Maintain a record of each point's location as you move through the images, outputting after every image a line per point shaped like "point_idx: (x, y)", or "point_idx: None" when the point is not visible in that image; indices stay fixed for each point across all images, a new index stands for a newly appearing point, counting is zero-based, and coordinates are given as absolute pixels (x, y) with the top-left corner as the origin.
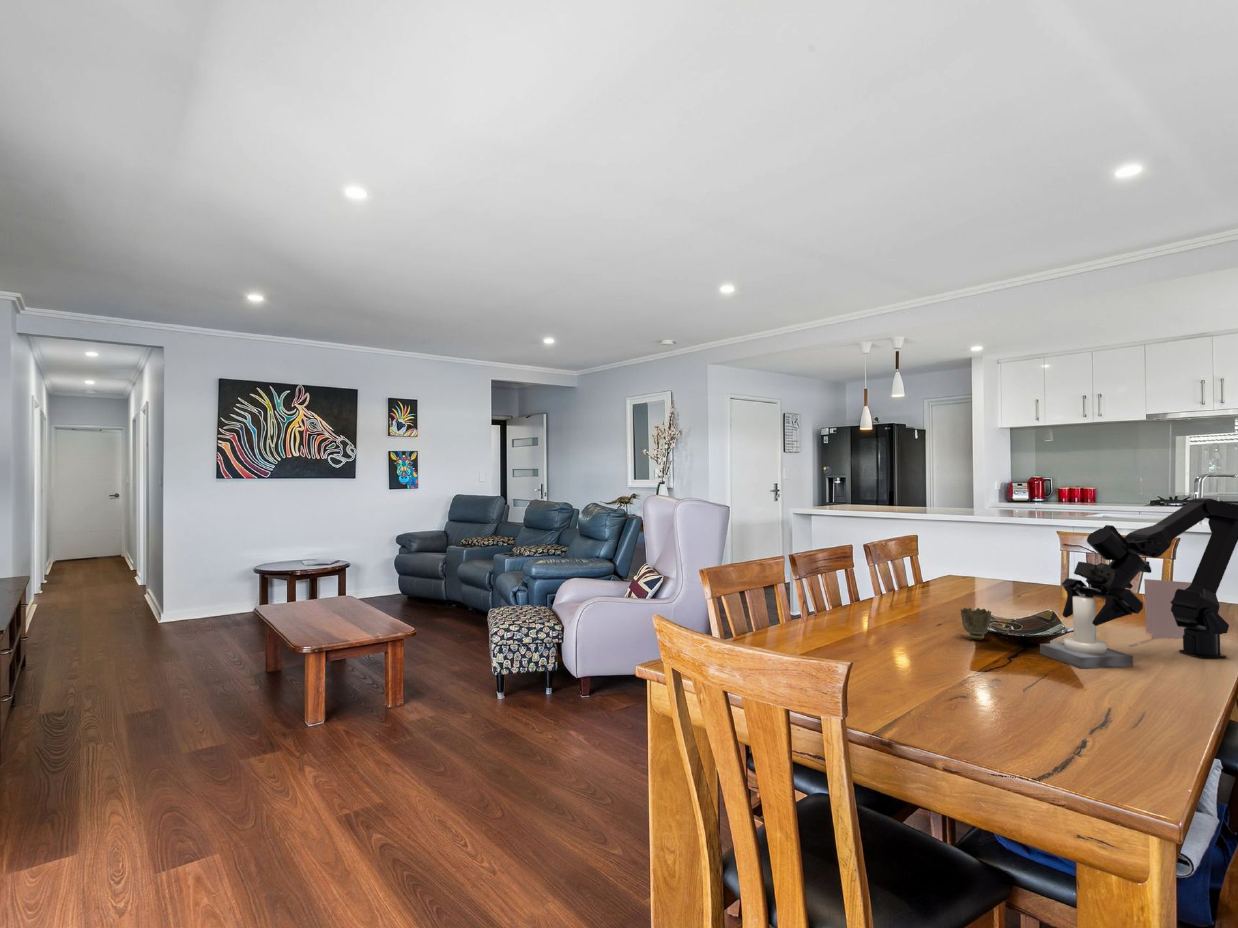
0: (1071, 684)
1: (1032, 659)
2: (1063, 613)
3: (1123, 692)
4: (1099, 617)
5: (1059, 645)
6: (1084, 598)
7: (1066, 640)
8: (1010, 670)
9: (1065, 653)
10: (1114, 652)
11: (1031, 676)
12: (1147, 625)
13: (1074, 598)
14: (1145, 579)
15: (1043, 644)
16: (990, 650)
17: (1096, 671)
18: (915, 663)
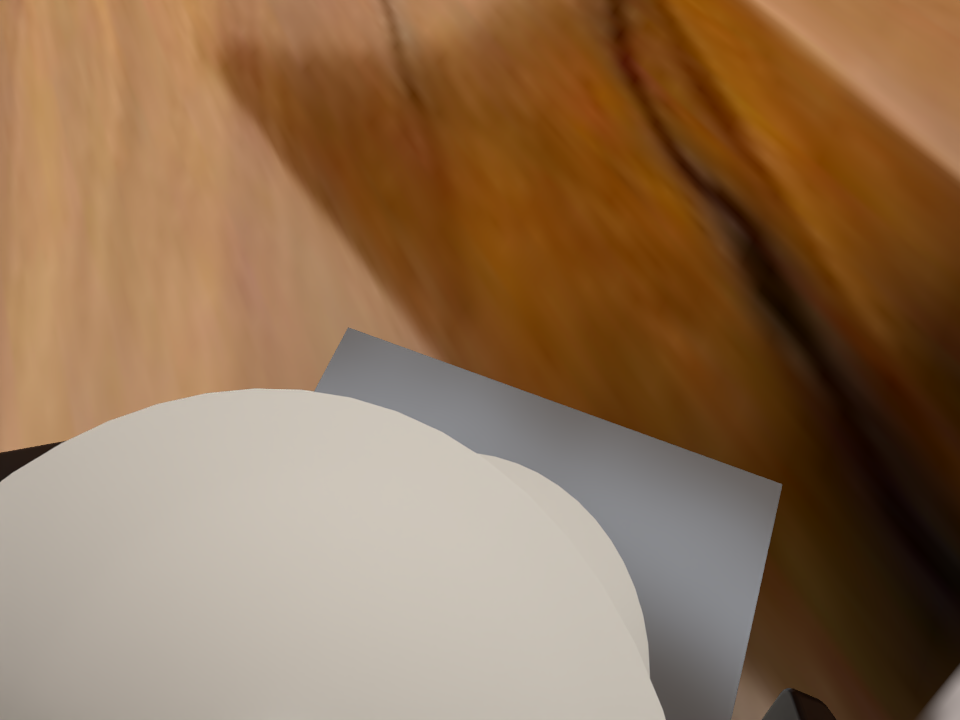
0: (269, 67)
1: (655, 307)
2: (814, 711)
3: (73, 136)
4: (27, 456)
5: (667, 585)
6: (99, 586)
7: (563, 504)
8: (552, 36)
9: (488, 379)
10: None
11: (438, 34)
12: None
13: (442, 436)
14: None
15: (754, 492)
16: (955, 281)
17: (283, 376)
18: None
